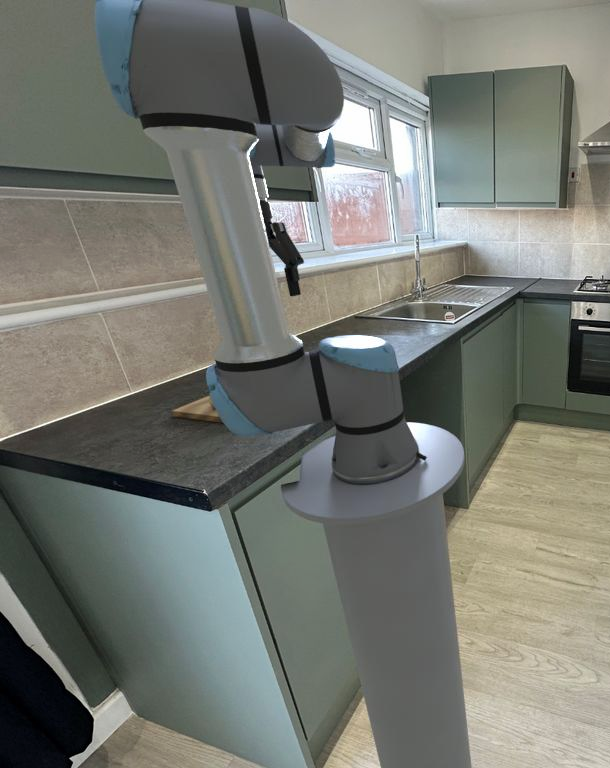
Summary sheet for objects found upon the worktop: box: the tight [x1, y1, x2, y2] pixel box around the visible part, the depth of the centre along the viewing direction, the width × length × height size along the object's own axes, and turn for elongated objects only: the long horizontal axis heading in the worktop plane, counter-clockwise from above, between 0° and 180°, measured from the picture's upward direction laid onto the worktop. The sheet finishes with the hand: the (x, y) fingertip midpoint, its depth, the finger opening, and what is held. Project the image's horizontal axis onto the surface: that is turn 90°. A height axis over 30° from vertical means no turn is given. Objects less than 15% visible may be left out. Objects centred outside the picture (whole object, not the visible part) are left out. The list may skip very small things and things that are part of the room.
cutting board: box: [171, 395, 224, 424], centre depth 99 cm, size 20×14×2 cm
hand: (272, 295), depth 102 cm, fingers open, 13 cm apart
